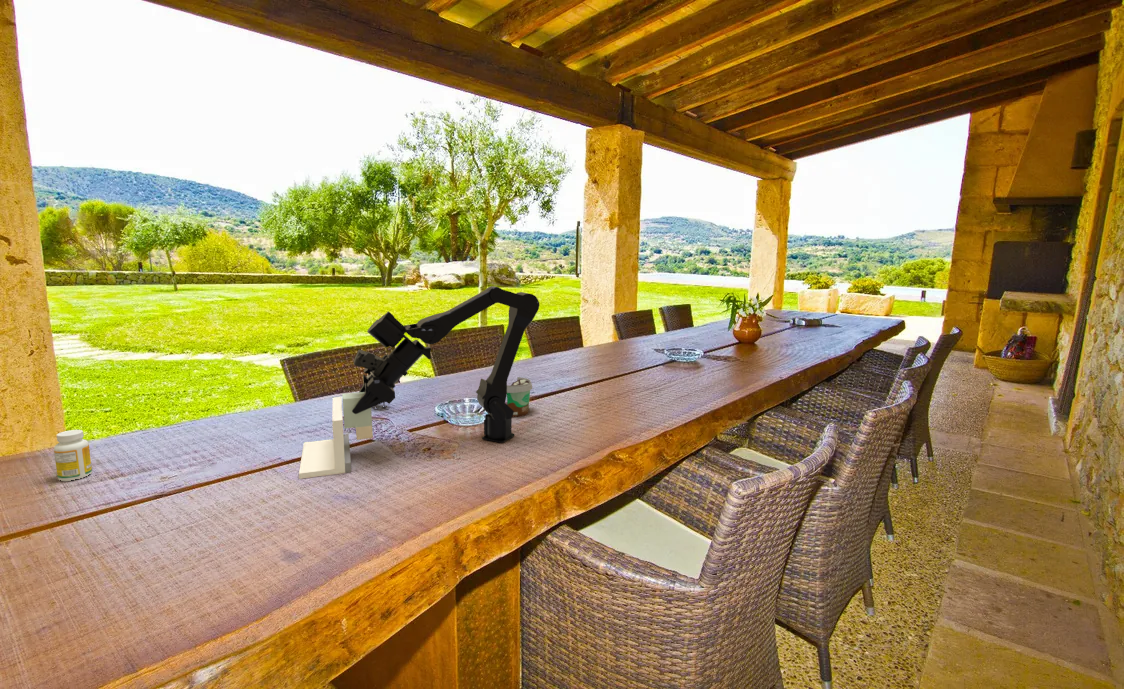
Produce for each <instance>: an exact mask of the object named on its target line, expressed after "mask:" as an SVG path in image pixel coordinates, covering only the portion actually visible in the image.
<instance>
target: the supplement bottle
mask: <svg viewBox="0 0 1124 689" xmlns="http://www.w3.org/2000/svg"><path fill="white" fill-rule="evenodd" d="M56 441H57V442H58V443H56V444H55V445H54V447H53V454H54V460H55V461H54V462H55V469H56V475H57V477H56V478H57V480H59V481H60V480H61V481H60V482H72V481H71V480H74V481H76V480H75V479H79V480H81V479H80V478H82V479H84V478H83V477H85V476H87V477H89V476H90V475H89V474H92V473H93V467H92V458H91V450H90V443H89V441H88V440H86V439H84V431H83V430H82V429H72V430H71V429H70V430H66V431H61V432H58V433H57V434H56ZM88 475H89V476H88ZM85 478H86V477H85Z"/></svg>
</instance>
